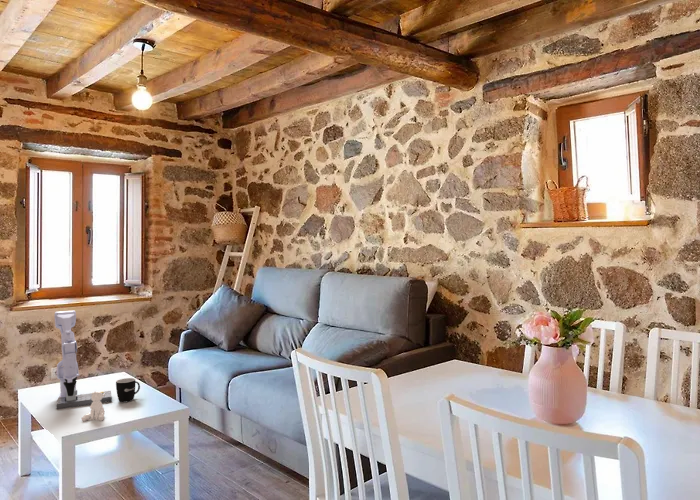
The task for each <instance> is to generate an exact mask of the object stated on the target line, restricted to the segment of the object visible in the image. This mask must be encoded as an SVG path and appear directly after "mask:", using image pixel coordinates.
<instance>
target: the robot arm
mask: <svg viewBox="0 0 700 500" xmlns="http://www.w3.org/2000/svg"><path fill="white" fill-rule="evenodd" d="M53 316H54V326H55V328H56V329H57V330H59V332H60V336H61V337H60V339H61V355H62V356H61V357H62V359H61V360H60V361H58V363H57V364H56V378H57V380H59V386H60V392H59V397H58V398H60V397H66V390H67V394H68V396H73V394H74V389H75V388H76V389H77V380H78V377H80V375H81V374H80V372H79V364H78V361H77V353H78V344H77V341H76V338H75V336H76V335H75V332H74V331H72V329H73V328H74V327H75V325H76V321H77V312H76V310H74V309H73V310H63V311H55V312H54V315H53Z"/></svg>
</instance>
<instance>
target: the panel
mask: <svg viewBox="0 0 700 500" xmlns="http://www.w3.org/2000/svg"><path fill="white" fill-rule="evenodd" d="M100 392H101V393H102V394H104V393H105V395H104V397H102V400H100V401H101V403H102V404H104V403H105V404H106V403H111V402H113V401H112V398H113V397H112V390H106V391H105V390H104V391H100ZM93 393H94V392H92V393H83V394H77V395H76V400H71V401H66V397H60V396H59V397H60V398H59V397H58V398H57V401H56V410H62V409H69V408H76V407H81V406H91V404H92V402H93V401H92V398H91V397H92V394H93Z"/></svg>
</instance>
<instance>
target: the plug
mask: <svg viewBox="0 0 700 500" xmlns="http://www.w3.org/2000/svg"><path fill="white" fill-rule="evenodd" d="M76 395H78V389H77V387H76V388H75V389H74V394H73V396H68V394H67V390H66V401H71V400H76Z"/></svg>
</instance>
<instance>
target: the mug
mask: <svg viewBox="0 0 700 500" xmlns="http://www.w3.org/2000/svg"><path fill="white" fill-rule="evenodd" d="M136 385H137V389H136ZM115 387H116V395H117V399H118V401H119V402H120V403H130V402H132V401H134V398H135V395H136V394H138V393H139V391H140V389H141V385H140V382H138V381H137V380H136V378H135V377H134V378H133V377H126V378H119V379H117V380H116V381H115Z"/></svg>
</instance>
